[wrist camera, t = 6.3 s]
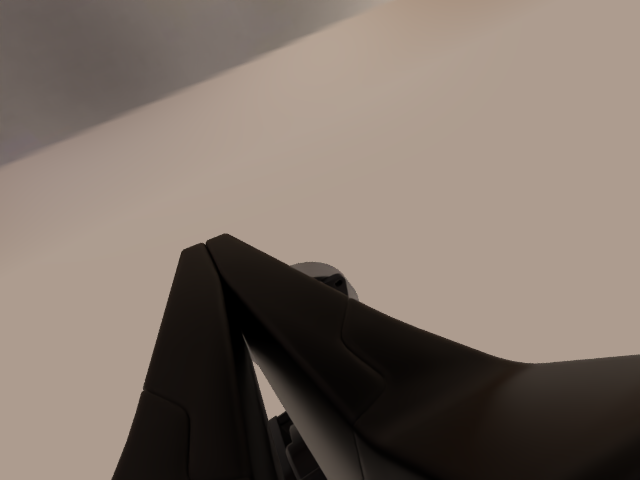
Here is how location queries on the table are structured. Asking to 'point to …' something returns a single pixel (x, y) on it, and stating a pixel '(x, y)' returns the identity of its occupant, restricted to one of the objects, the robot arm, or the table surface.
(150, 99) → the table surface
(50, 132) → the table surface
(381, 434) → the robot arm
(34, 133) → the table surface
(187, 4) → the table surface
